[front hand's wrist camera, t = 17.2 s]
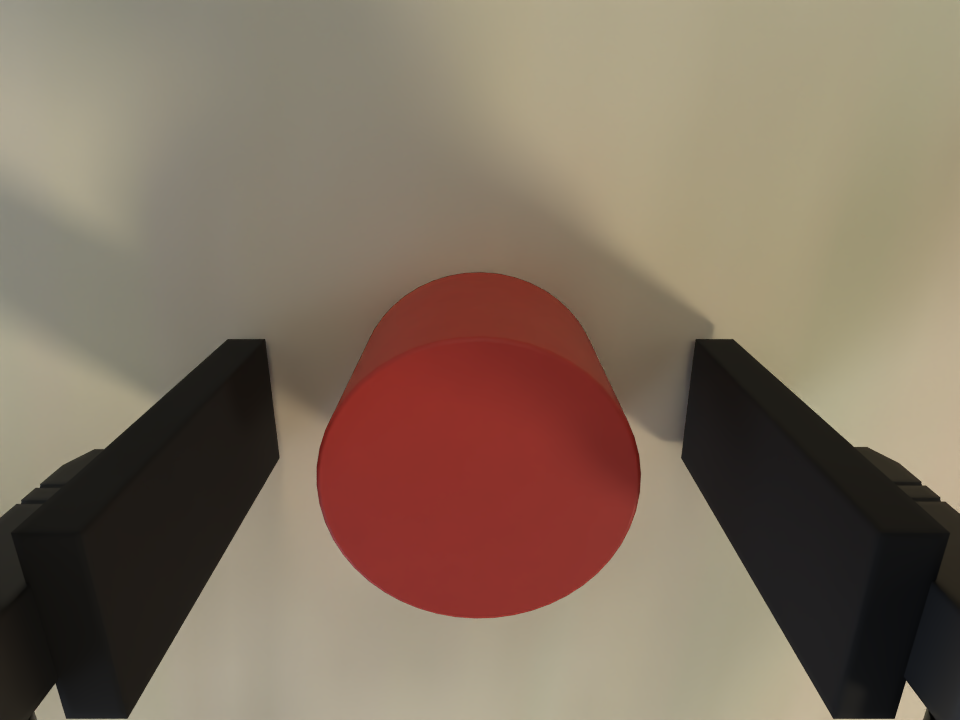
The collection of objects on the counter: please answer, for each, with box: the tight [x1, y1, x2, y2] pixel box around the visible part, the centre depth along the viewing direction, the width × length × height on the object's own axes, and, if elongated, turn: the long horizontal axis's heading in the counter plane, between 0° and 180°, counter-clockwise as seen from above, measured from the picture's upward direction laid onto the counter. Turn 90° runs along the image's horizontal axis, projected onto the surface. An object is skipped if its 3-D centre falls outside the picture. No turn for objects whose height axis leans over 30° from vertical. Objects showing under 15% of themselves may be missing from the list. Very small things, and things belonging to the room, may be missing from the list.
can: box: [317, 272, 641, 618], centre depth 12 cm, size 5×5×4 cm
